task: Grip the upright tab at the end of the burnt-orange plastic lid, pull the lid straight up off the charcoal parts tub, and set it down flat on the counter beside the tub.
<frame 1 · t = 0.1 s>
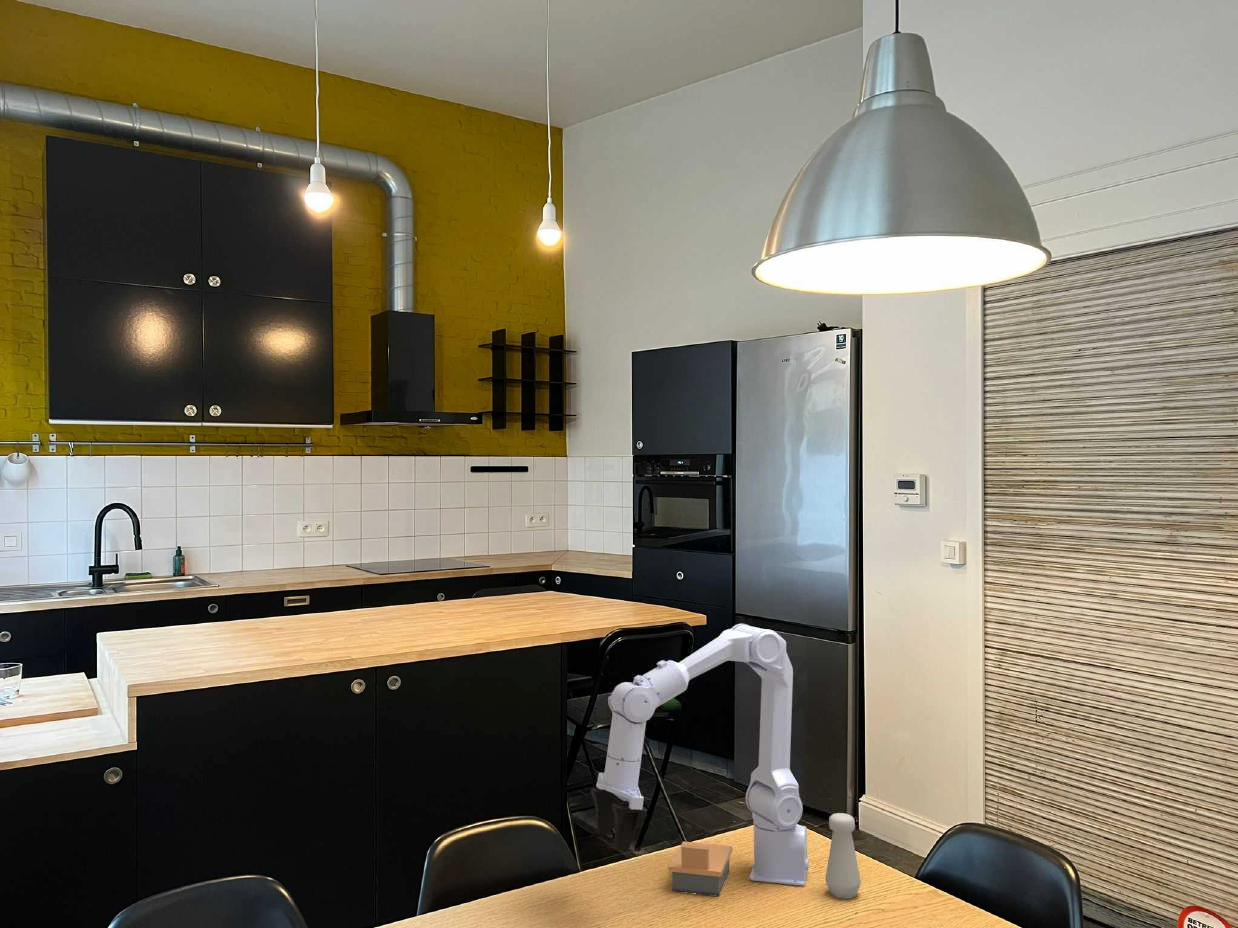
hand: (612, 841, 152), 11 cm above the table, tool pointing down, fingers open, 7 cm apart
salt shaker: (843, 894, 156), on the table
tub: (701, 880, 161), on the table
lid: (701, 860, 161), point 3 cm above the table, touching tub
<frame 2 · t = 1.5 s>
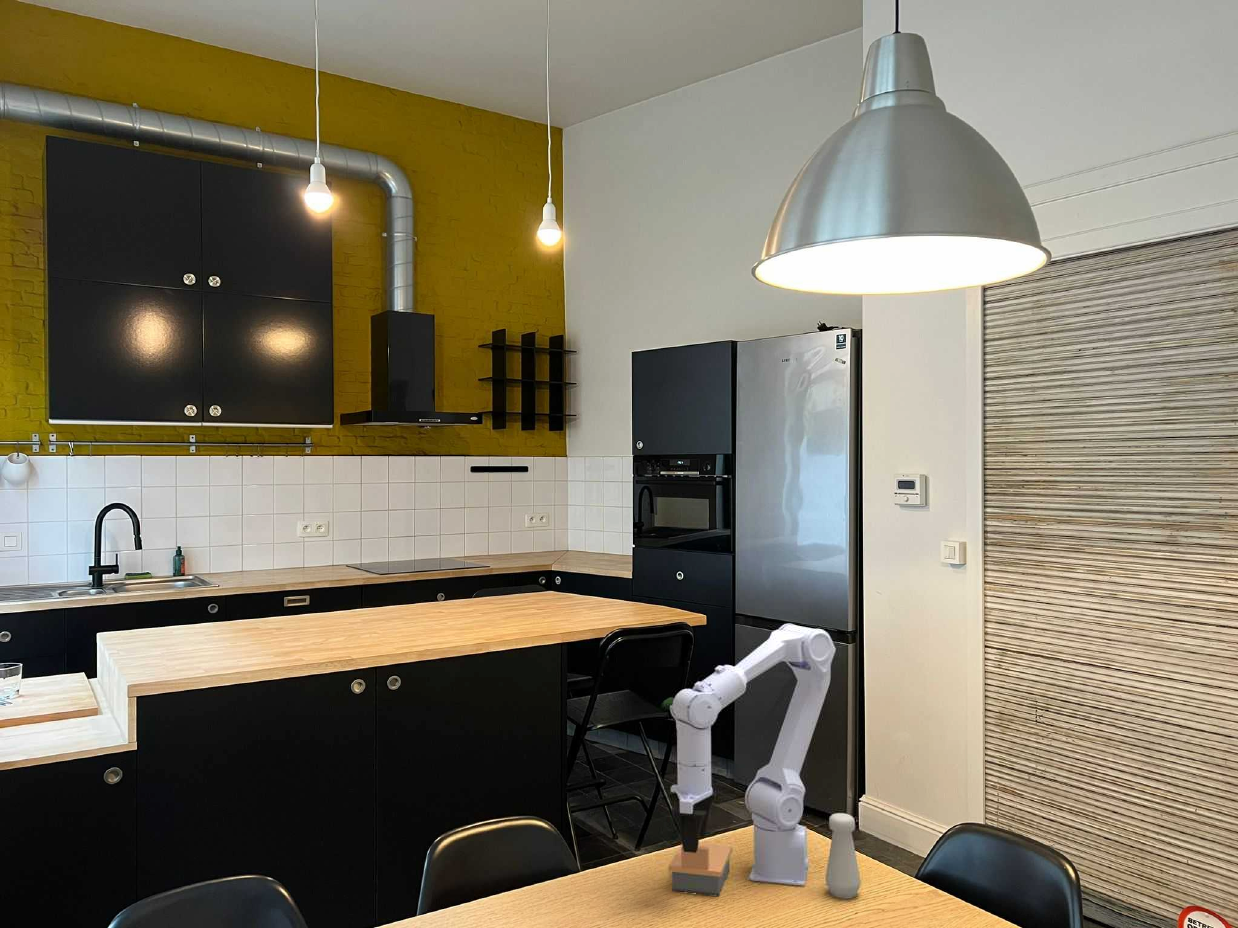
hand: (694, 843, 157), 8 cm above the table, tool pointing down, fingers open, 7 cm apart
nothing on the table moved.
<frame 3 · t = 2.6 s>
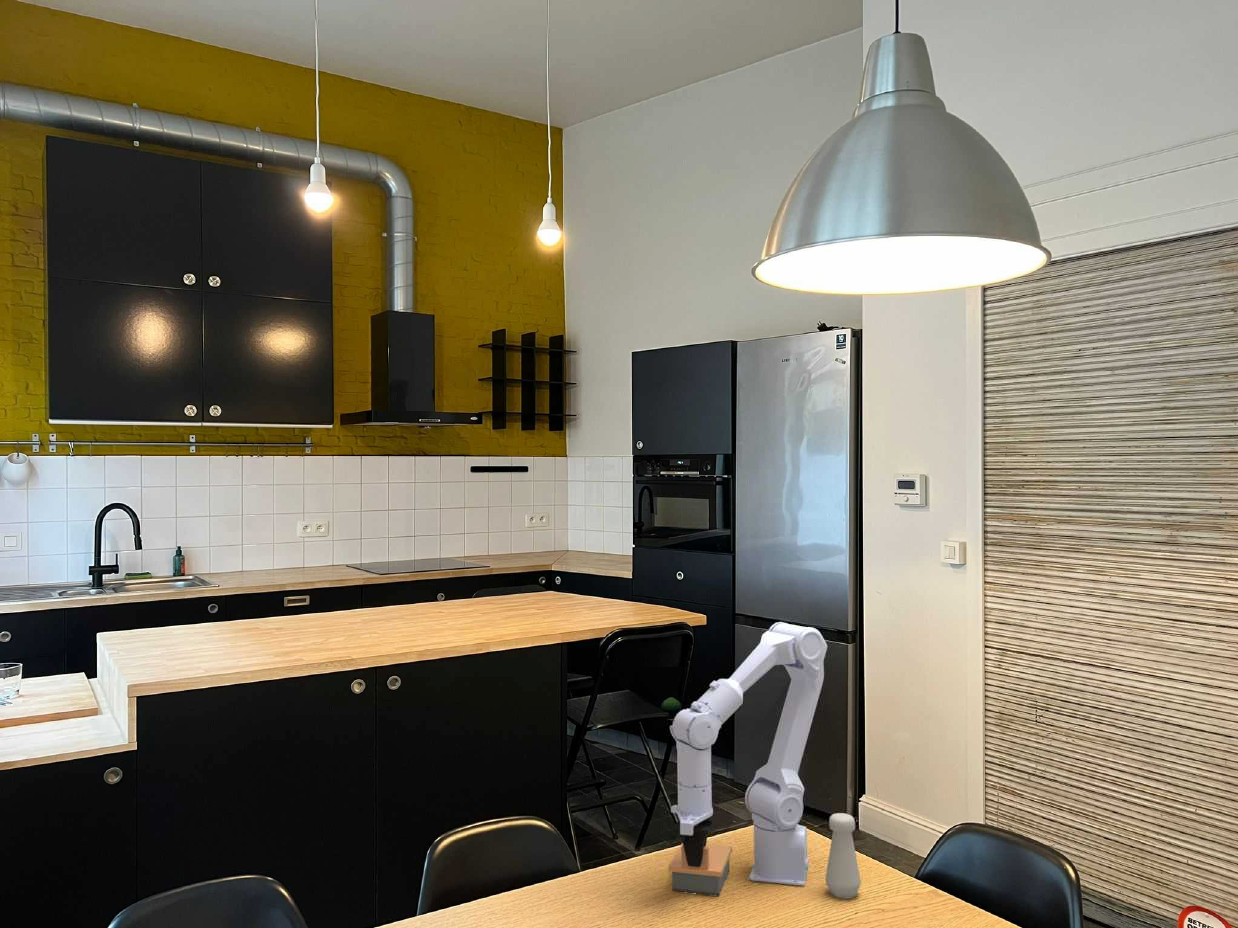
hand: (695, 863, 156), 5 cm above the table, tool pointing down, fingers closed on lid
lid: (701, 860, 161), point 3 cm above the table, touching gripper, tub
everything else where it was.
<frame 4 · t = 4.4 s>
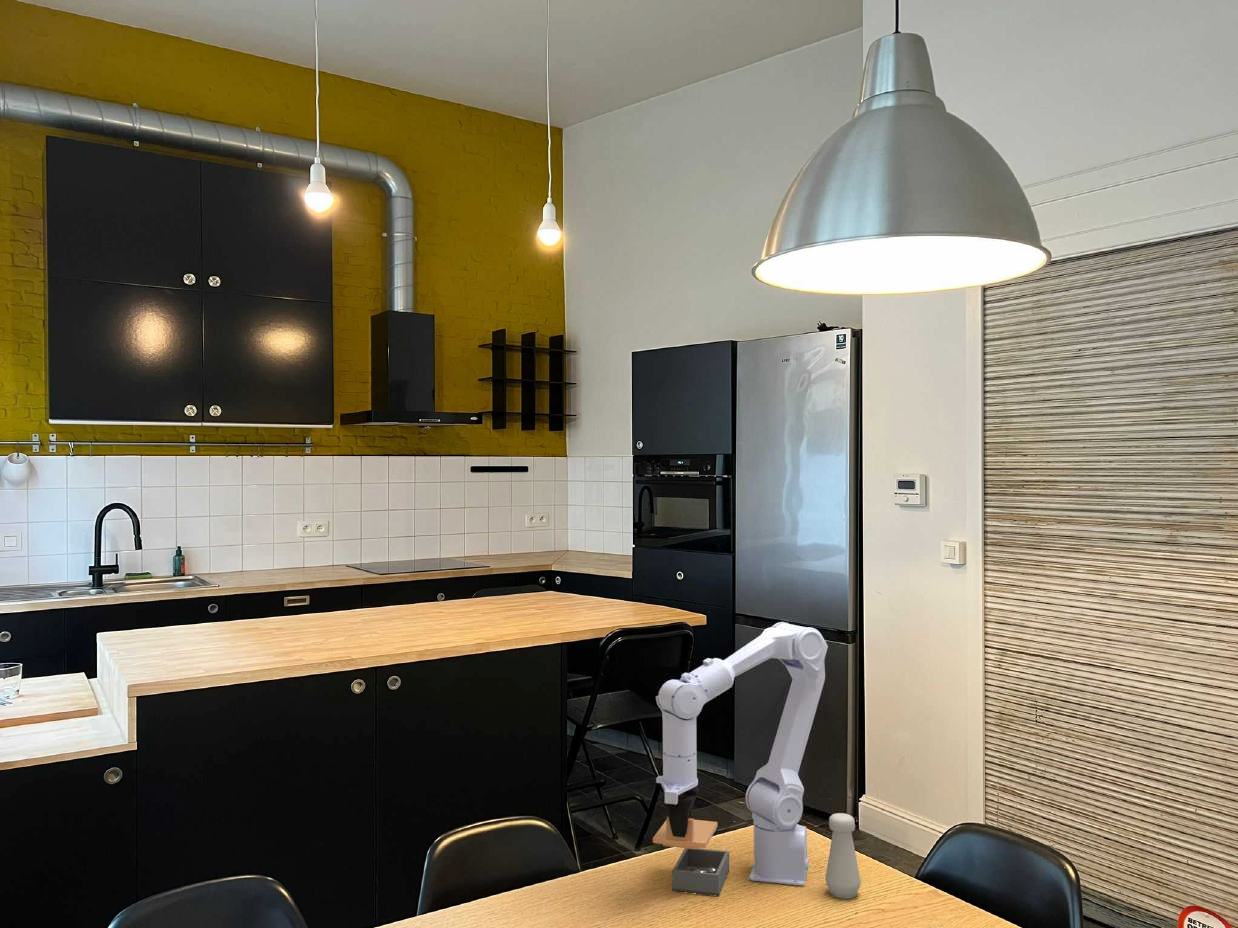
hand: (680, 834, 156), 10 cm above the table, tool pointing down, fingers closed on lid
lid: (686, 834, 161), point 8 cm above the table, touching gripper
everything else where it was.
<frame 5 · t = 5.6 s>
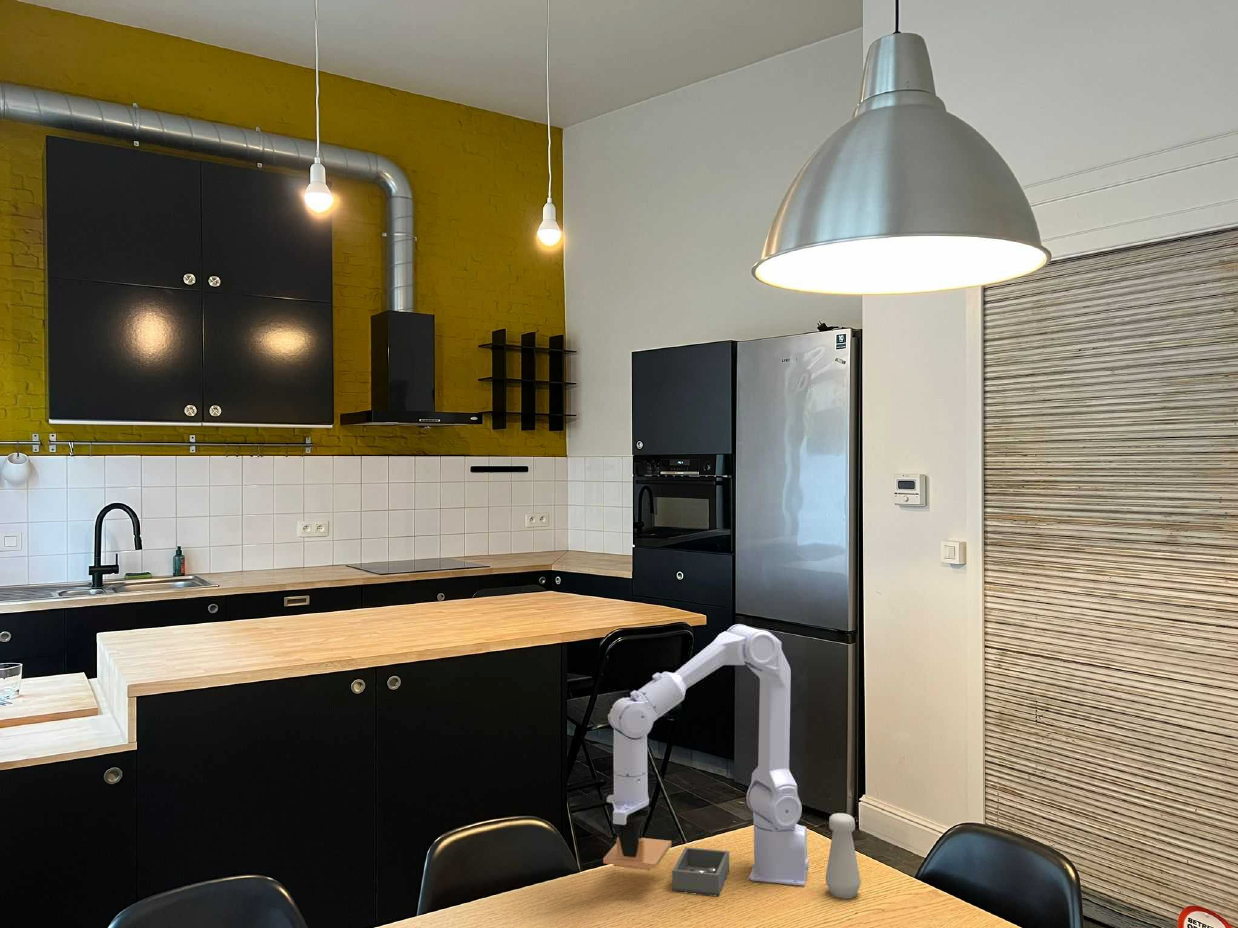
hand: (631, 853, 155), 7 cm above the table, tool pointing down, fingers closed on lid
lid: (638, 853, 160), point 5 cm above the table, touching gripper
everything else where it was.
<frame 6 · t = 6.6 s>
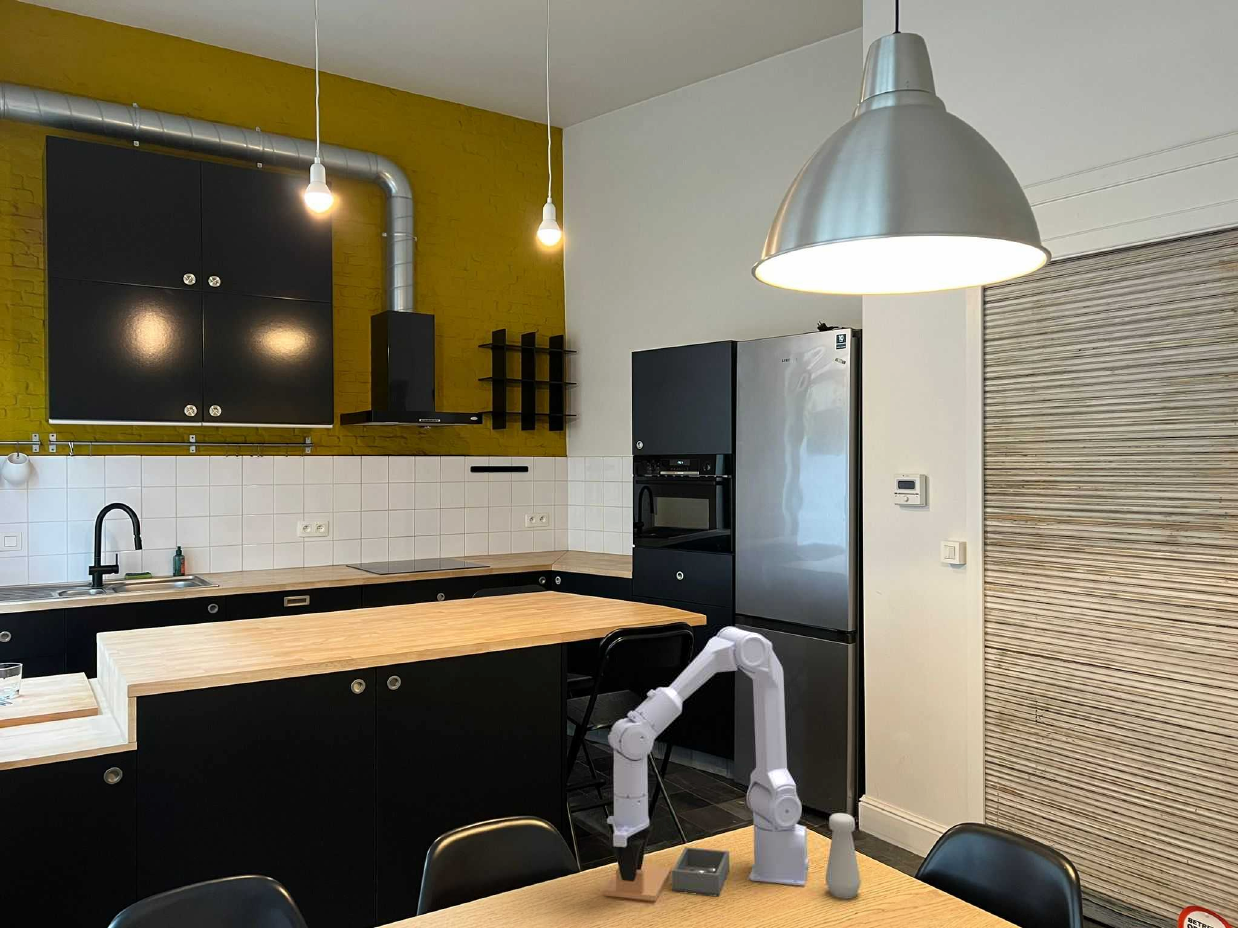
hand: (631, 875, 155), 4 cm above the table, tool pointing down, fingers open, 3 cm apart
lid: (638, 883, 159), on the table
everything else where it was.
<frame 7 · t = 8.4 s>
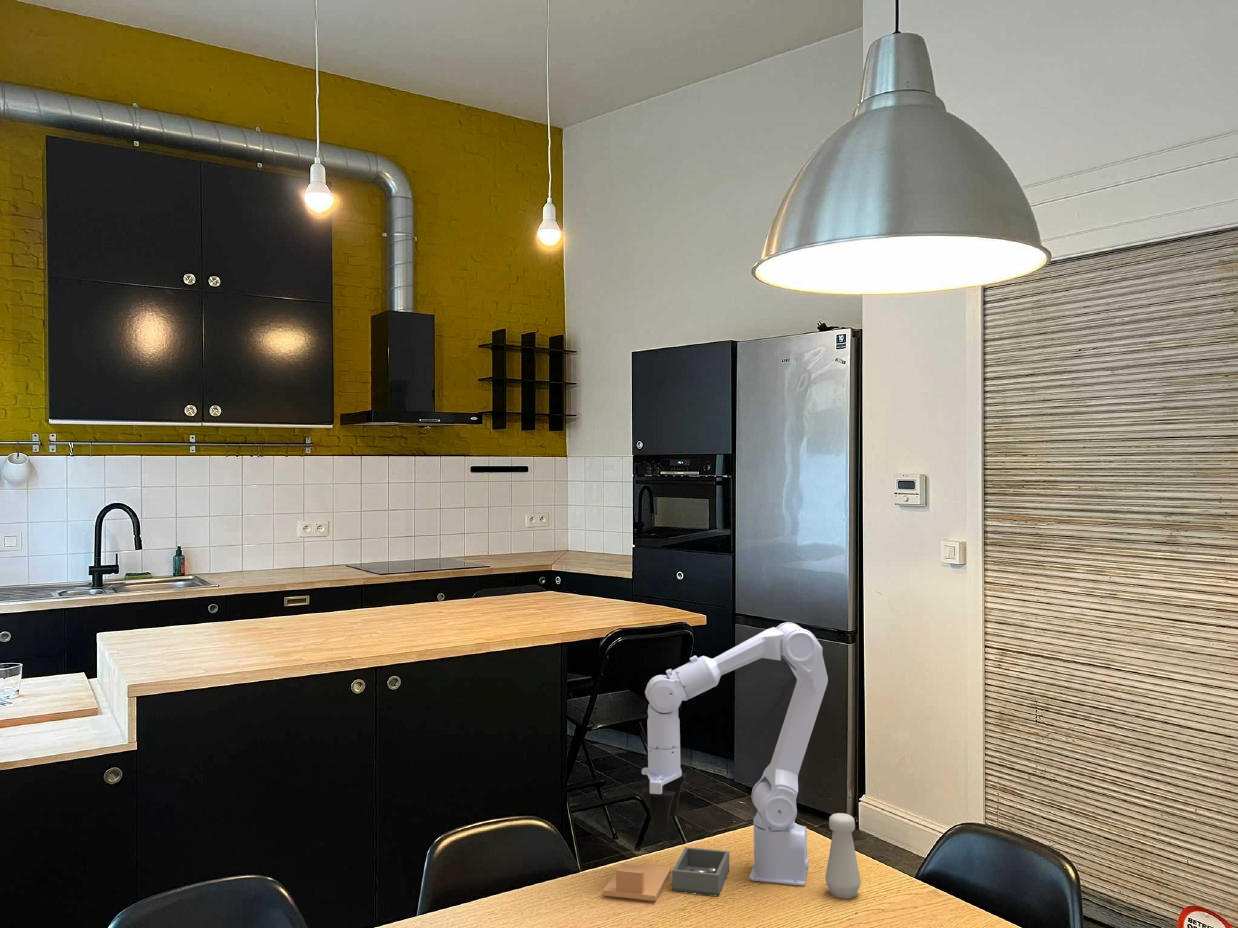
hand: (665, 822, 163), 10 cm above the table, tool pointing down, fingers open, 7 cm apart
nothing on the table moved.
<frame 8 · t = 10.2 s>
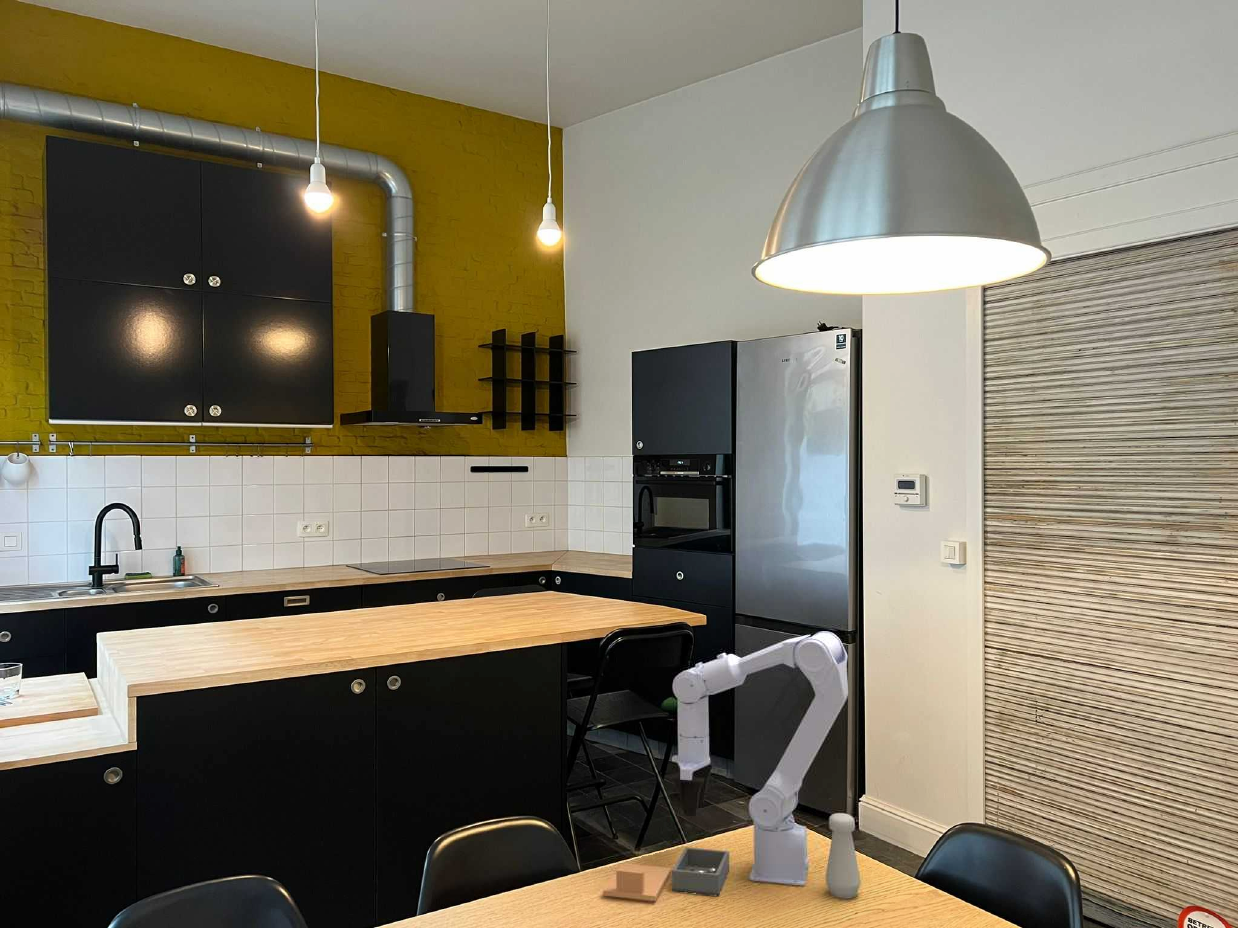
hand: (694, 808, 171), 9 cm above the table, tool pointing down, fingers open, 7 cm apart
nothing on the table moved.
at the end: lid inside the target area (0.6 cm from its centre), point 0.5 cm above the table; lid touching table; lid tilted 0° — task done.
